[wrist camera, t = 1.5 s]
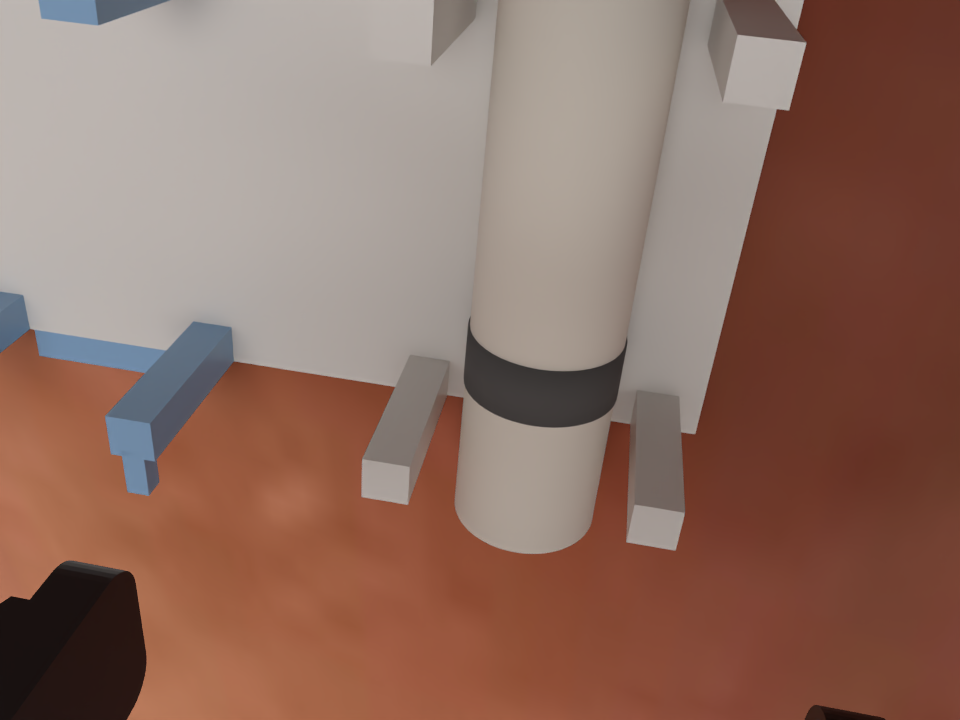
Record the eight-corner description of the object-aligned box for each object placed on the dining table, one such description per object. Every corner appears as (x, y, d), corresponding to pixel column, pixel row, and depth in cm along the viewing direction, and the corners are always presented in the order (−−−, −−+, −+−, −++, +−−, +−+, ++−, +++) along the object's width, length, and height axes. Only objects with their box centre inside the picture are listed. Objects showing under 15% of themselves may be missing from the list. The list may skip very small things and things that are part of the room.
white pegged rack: (798, -5, 21) (847, 47, 16) (685, 451, 28) (694, 591, 23) (-221, -119, 23) (-462, -105, 18) (-96, 325, 30) (-247, 426, 25)
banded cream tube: (518, -131, 20) (494, -124, 16) (705, -112, 20) (721, -101, 16) (465, 453, 28) (440, 541, 25) (596, 474, 28) (591, 566, 24)
